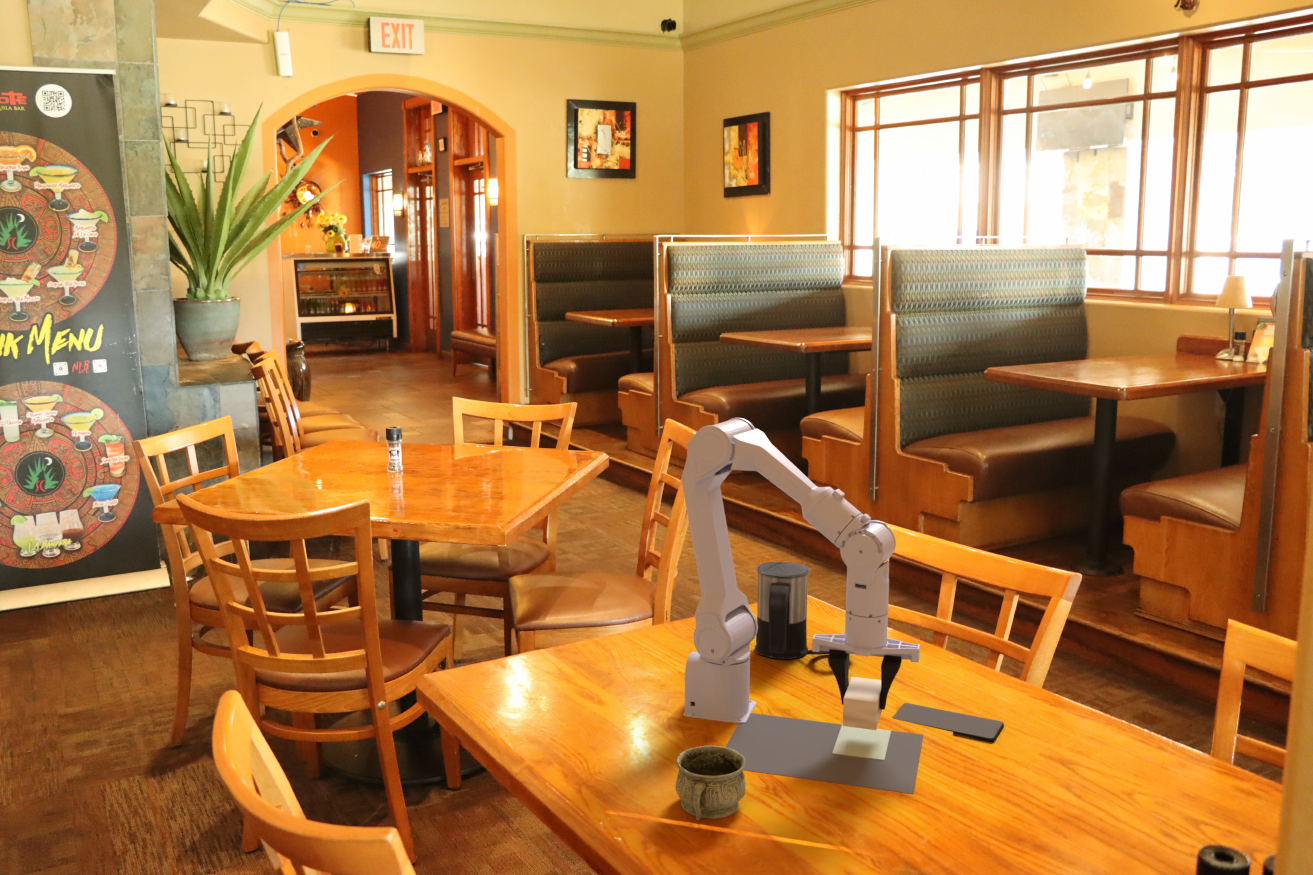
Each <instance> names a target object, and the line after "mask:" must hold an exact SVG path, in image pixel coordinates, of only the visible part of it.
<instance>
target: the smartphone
mask: <svg viewBox="0 0 1313 875" xmlns="http://www.w3.org/2000/svg"><path fill="white" fill-rule="evenodd" d="M891 718H892V719H893V720H897V721H902V722H907V723H910V724H916V725H920V726H925V727H929V728H932V729H933V728H934V729H938V730H941V731H942V730H943V731H948V732H951V733H952V735H954V736H957V737H958V736H959V737H961V738H962V737H963V738H968V739H973V740H975V741H982V742H985V743H986V742H987V743H990V744H991V743H995V742H996V740H997V739H998V737H999V736H1000V734H1001V732H1002V730H1003V728H1004V727H1005V724H1004V722H1003V721H1000V720H996V719H991V718H986V717H982V716H981V717H979V716H976V715H975V716H974V715H971V714H965V713H960V712H955V711H950V710H944V709H939V708H934V707H929V706H925V705H918V704H913V703H910V702H905V703H903V704H902V705H901V706H900V707H899V708H898V710H896V713H894V714H893V716H892V717H891Z"/></svg>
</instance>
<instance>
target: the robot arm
mask: <svg viewBox="0 0 1313 875" xmlns="http://www.w3.org/2000/svg"><path fill="white" fill-rule="evenodd" d="M686 447H687V456H686V459H685V464H684V466H683V467H684V468H683V471H682V473H681V474H682V475H681V485H682V490H683V497H684V501H685V506H686V507H685V508H686V513H687V519H688V524H689V530H690V536H691V540H692V542H691V543H692V547H693V548H692V549H693V553H694V559H695V565H696V569H697V570H696V571H697V575H698V581H699V582H698V583H699V587H700V592H701V597H700V599H699V601H698V605H697V607H696V610H695V612H694V618H695V628H694V632H693V636H692V637H693V639H692V640H693V644H694V647H695V649H696V651H691V652H690V653H689V654H688V656H687V659H686V663H685V671H684V712H683V713H682V714H683V716H684V717H686V718H687V717H688V718H695V719H702V720H709V721H718V722H723V723H724V722H725V723H732V724H733V723H734V724H738V723H742V724H744V723H746V722H747V720H748V718H749V716H750V714H751V713H753V711H754V709H755V707H756V706H757V701H755V700H750V691H751V690H750V685H751V683H750V681H751V680H750V676H751V674H750V673H751V672H750V671H751V650H750V649H751V642H752V641H754V640H755V639H756V634H757V631H758V624H757V617H756V616H755V614H754V613H753V611H752V609H751V608H750V603H749V601H748V600H749V599H748V597H747V595H746V594H745V593H743V592H742V591H741V590H740V589H739V588H738V582H737V576H736V570H735V565H734V558H733V554H732V547H731V540H730V536H729V530H728V524H727V519H726V514H725V507H724V501H723V497H722V495H723V494H722V490H721V489H722V488H721V484H723V482H724V481H725V479H726V478H727V477H728V476H729V475H730V473H731V472H732V471H747V472H749V471H750V472H752V471H753V472H757V473H759V474H760V475H761V476H763V477H764V478H765V479H766V480H768V481H769V482H770V483H771V484H773V485H774V486H776V487H777V488H778V489H780V490H781V491H782V492H784V493H785V494H786V495H787V496H788V497H790V498H792V499H793V500H794V501H796V502H797V503H798V504H799V505H800V507H801V514H802V517H803V520H805V521H806V522H808V523H809V524H810V525H811V527H813V528H814V529H815V530H817V531H818V532H819V533H820V534H822V536H823V537H825V538H826V539H827V540H829V542H830V543H832V544H833V545H834V546H836V548H838V549H839V553H840V556H841V559H842V561H843V563H844V564H845V566H846V584H845V590H846V591H845V614H844V615H845V617H844V618H845V619H844V620H845V623H844V633H843V634H841V633H839V634H820V633H814V635H813V637H812V638H811V650H812V651H813V652H820V651H829V654H828V658H827V662H828V666H829V668H830V669H831V671H832V673H833V675H834V678H835V681H836V684H837V686H838V690H839V694H840V699H841V705H842V706H843V699H844V696H845V693H846V691H847V688H848V686H849V683H850V681H849V673H850V672H849V670H850V657H851V656H850V655H852V654H853V655H855V656H858V657H859V656H861V657H870V656H871V657H876V658H877V657H878V658H879V657H880V658H882V661H881V664H880V665H881V666H880V672H881V673H880V676H881V678H880V680H881V694H880V703H879V709H882V711H885V710H886V709H885V708H886V706H887V698H888V694H889V691H890V689H891V686H892V684H893V681H894V680H895V678H896V676H897V674H898V673H899V670H900V668H901V665H902V661H903V660H909V661H910V662H911V663H920V658H921V657H920V655H921V654H920V653H921V644H920V643H919V644H918V643H910V642H906V641H903V640H902V641H901V640H899V639H898V640H897V639H893V638H889V637H888V621H889V619H888V618H889V616H888V615H889V598H890V597H889V594H890V593H889V592H890V591H889V590H890V578H889V577H890V561H889V559H890V558H891V556H893V554H894V552H895V549H896V545H897V544H896V537H895V534H894V533H893V531H892V529H891V528H890V527H889V526H888V525H887V524H886V522H884V521H881V520H878V519H872V517H871V516H870V515H869V514H868V513H864V514H863V513H862V512H861V511H860V510H858V509H857V507H855V506H854V505H853V504H852V503H850V502H849V501H848V500H847V499H846V498H845V496H846V495H845V494H846V493H845V492H844V491H842V490H841V489H840V488H837V489H834V488H832V486H817V485H816V484H815V483H814V482H813V481H812V480H811V479H810V478H809V477H808V476H806V475H805V474H804V473H803V472H802V471H801V470H800V469H799V468H798V467H797V466H796V465H795V464H794V463H793V462H792V461H790V460H789V459H788V458H787V457H786V456H785V455H784V454H783V453H782V452H781V451H780V450H779V449H778V448H777V447H776V446H775V445H773V444H772V442H771V441H770V439H769V438H768V437H767V435H766V433H765V432H764V431H762V430H760V429H759V428H756V427H755V426H754V425H753V423H752V422H751V421H749V420H747V419H745V418H742V417H732V418H730V419H728V420H726V421H723V422H719V423H716V424H711V425H709V424H708V425H706V426H705V425H704V426H702V427H700V429H698V430H697V431H696V432H695V433H694V435H693V436H692V437H691V438H690V439H689V441H688V442H687V443H686Z"/></svg>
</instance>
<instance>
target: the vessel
mask: <svg viewBox="0 0 1313 875" xmlns="http://www.w3.org/2000/svg"><path fill="white" fill-rule="evenodd" d="M676 765H677V769H678V772H677V775H676V776H677V777H676V780H675V785H674V786H675V791H676V794H677V796H678V798H679V799H680V800H681V802H680V803H681V804H680V805H681V806H682V809H683V810H684V811H686V812H687V814H690V815H692V816H695V820H696V821H700V820H701V818H703V819H720V818H725V817H728V816H731V815H733V814H735V813H736V812H737V811H738V810H739V809H740V803H739V802H740V801H741V800H742V799H744V797H745V794H746V784H747V783H746V778H745V773H744V770H743V769H744V768H745V766H746V761H745V758H744V757H743V755H741V754H740V753H738V752H737V751H735V750H733V749H730V748H726V747H725V746H720V745H702V746H695V747H691V748H687V749H685V750H683V751H682V752H680V753H679V754H678V755H677V757H676Z"/></svg>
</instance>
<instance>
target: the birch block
mask: <svg viewBox="0 0 1313 875" xmlns="http://www.w3.org/2000/svg"><path fill="white" fill-rule="evenodd" d="M880 694H881V679H874V678H866V677H859V676H851V678H850V681H849V686H848V688H847V691H846V693H845V696H844V699H843V705H842V709H843V710H842V724H843V726H847V727H855V728H862V729H869V730H876V729H878V725H879V723H880V722H879V721H880V719H881V714H882V712H883V709H879V703H880Z"/></svg>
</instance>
